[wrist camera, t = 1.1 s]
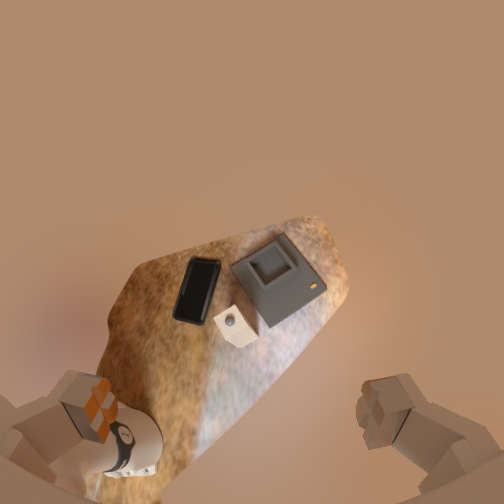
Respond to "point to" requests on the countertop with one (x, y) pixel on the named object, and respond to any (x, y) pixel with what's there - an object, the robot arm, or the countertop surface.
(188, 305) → the phone
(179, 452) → the countertop surface
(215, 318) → the cream square peg
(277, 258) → the dock
